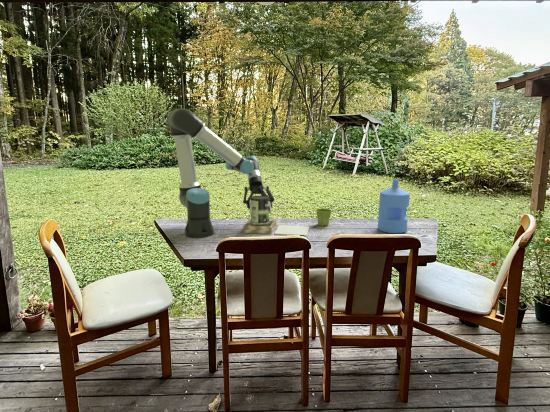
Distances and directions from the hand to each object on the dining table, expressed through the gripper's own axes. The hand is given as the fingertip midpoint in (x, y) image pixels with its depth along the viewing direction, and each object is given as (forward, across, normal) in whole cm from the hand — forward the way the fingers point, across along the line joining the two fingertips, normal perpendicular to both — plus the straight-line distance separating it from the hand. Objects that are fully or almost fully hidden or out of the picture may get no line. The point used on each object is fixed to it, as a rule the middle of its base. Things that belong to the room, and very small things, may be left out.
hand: (261, 212), depth 208 cm
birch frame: (+5, 0, -9) cm, 10 cm away
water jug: (+19, -70, +5) cm, 73 cm away
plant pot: (+5, -38, -9) cm, 39 cm away
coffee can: (+2, 0, -7) cm, 7 cm away
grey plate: (+10, -16, -4) cm, 20 cm away
